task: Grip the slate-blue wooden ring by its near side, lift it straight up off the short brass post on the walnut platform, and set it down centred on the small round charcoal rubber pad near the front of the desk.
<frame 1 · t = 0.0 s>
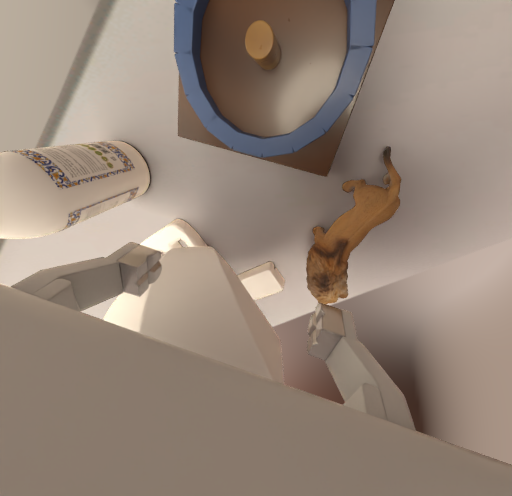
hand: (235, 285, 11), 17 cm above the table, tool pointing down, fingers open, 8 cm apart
bath foam: (128, 169, 29), on the table
ring: (269, 55, 18), point 2 cm above the table, touching platform
lion figurine: (346, 216, 25), on the table
jewelry stand: (222, 254, 32), on the table
platform: (272, 60, 20), on the table
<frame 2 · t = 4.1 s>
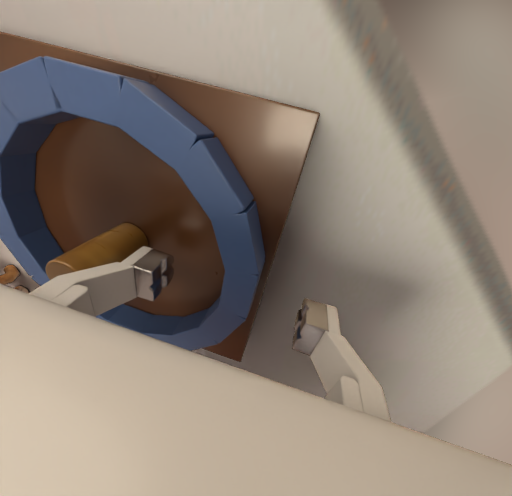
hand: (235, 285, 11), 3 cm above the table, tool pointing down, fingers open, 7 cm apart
ring: (132, 238, 13), point 2 cm above the table, touching platform
lion figurine: (48, 295, 22), on the table
platform: (154, 224, 14), on the table
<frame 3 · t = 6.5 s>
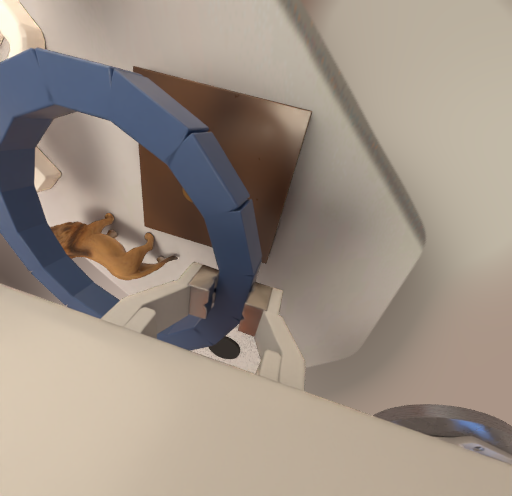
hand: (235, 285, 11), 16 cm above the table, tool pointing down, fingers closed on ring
ring: (129, 235, 12), point 14 cm above the table, touching gripper
mat: (224, 346, 40), on the table
lion figurine: (130, 236, 32), on the table
jewelry stand: (34, 108, 25), on the table
platform: (217, 176, 24), on the table
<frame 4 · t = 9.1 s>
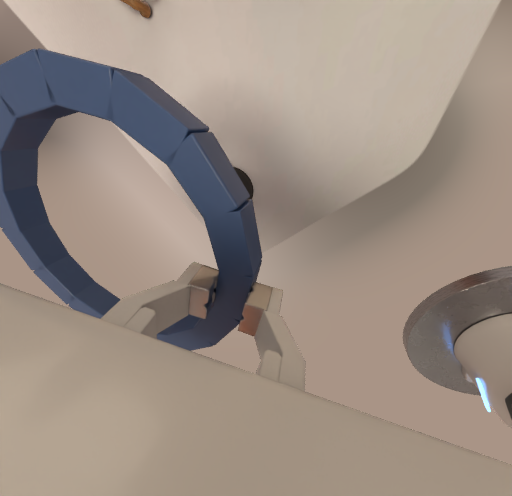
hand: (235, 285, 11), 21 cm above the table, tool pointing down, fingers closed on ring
ring: (130, 235, 12), point 19 cm above the table, touching gripper
mat: (231, 189, 30), on the table
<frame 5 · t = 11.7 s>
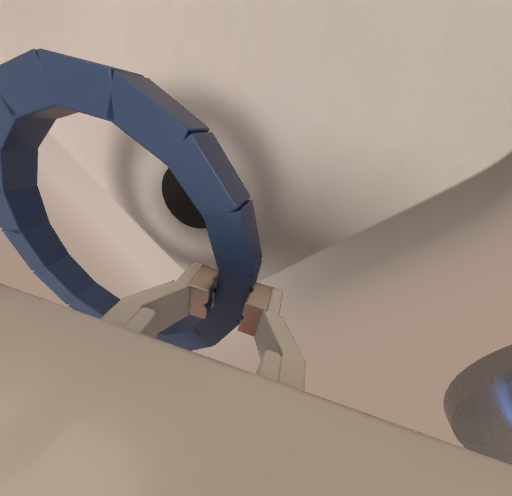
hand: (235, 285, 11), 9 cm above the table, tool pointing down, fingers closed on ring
ring: (130, 235, 12), point 8 cm above the table, touching gripper
mat: (195, 195, 19), on the table
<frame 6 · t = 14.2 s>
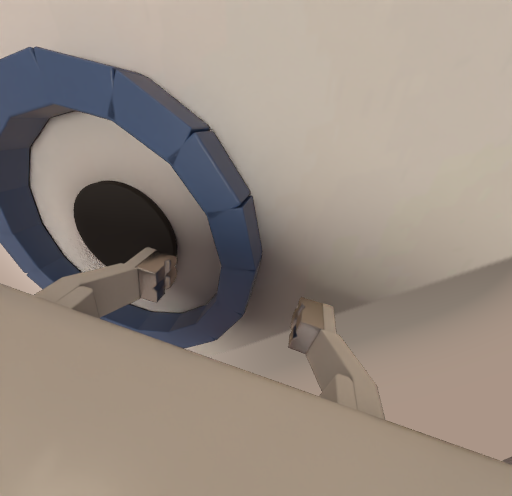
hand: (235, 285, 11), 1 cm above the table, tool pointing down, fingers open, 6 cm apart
ring: (128, 234, 12), on the table
mat: (128, 234, 12), on the table
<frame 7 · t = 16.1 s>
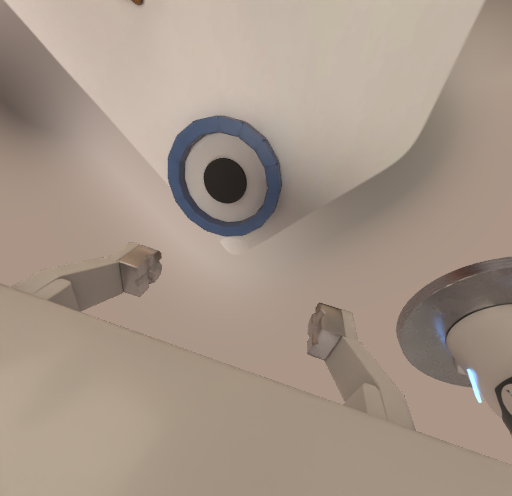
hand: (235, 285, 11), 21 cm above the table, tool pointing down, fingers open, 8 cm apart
ring: (225, 181, 30), on the table
mat: (225, 181, 30), on the table
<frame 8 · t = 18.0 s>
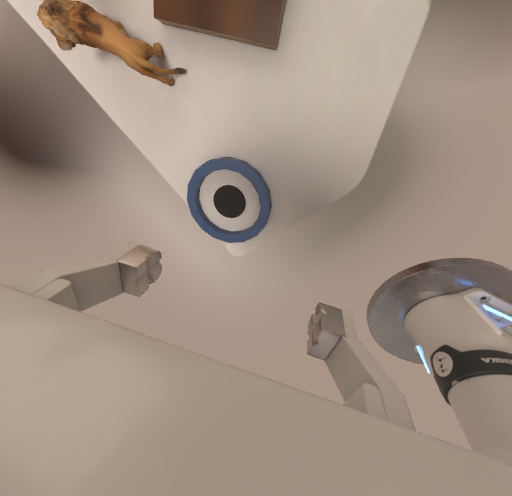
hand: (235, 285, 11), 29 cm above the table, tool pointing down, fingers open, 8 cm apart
ring: (229, 201, 40), on the table
mat: (229, 201, 40), on the table
lion figurine: (139, 55, 32), on the table
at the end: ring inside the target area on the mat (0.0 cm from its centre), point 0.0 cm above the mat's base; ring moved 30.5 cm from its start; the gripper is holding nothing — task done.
